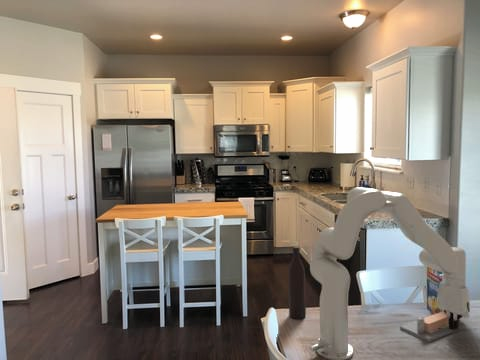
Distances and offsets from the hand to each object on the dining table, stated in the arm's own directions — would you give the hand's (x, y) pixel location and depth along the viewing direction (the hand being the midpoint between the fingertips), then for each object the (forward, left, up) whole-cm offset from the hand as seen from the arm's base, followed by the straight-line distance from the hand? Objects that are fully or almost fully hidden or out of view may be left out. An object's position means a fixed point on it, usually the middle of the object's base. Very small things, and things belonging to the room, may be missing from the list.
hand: (453, 328), depth 140 cm
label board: (-4, +7, -2) cm, 9 cm away
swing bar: (-2, +6, 0) cm, 6 cm away
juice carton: (+14, +13, -2) cm, 19 cm away
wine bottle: (-39, +44, -2) cm, 59 cm away
